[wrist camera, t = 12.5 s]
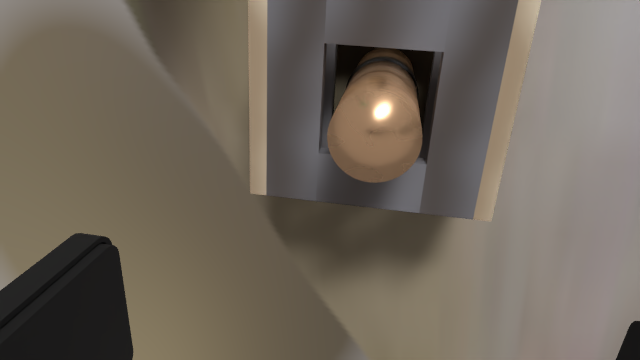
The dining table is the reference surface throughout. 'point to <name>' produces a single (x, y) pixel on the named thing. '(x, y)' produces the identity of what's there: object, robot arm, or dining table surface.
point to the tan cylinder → (377, 119)
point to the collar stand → (441, 106)
